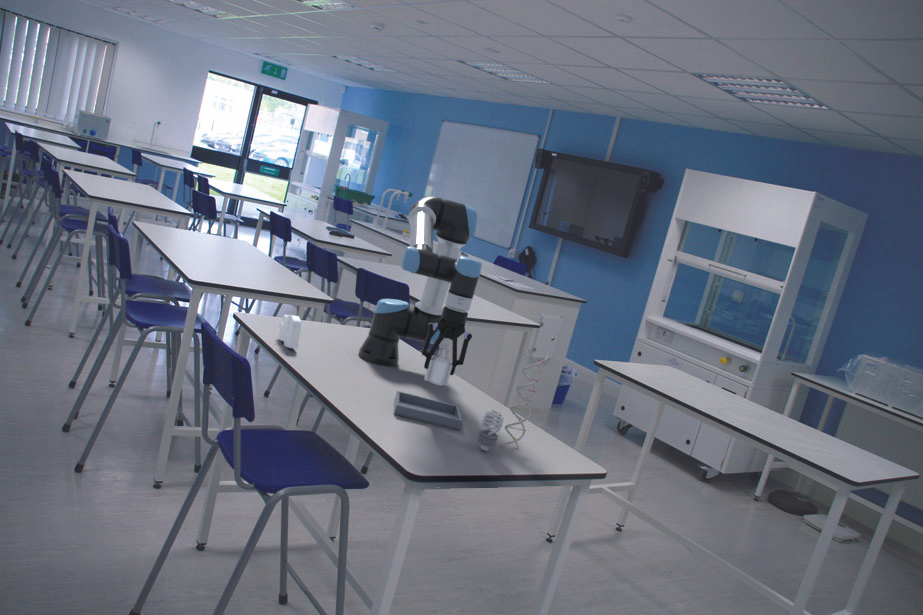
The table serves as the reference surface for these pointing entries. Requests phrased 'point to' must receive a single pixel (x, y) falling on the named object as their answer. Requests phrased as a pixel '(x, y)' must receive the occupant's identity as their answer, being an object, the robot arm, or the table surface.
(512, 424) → the dna model
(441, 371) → the eye dropper bottle
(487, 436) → the light bulb
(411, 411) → the tray
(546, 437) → the table surface
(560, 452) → the table surface
